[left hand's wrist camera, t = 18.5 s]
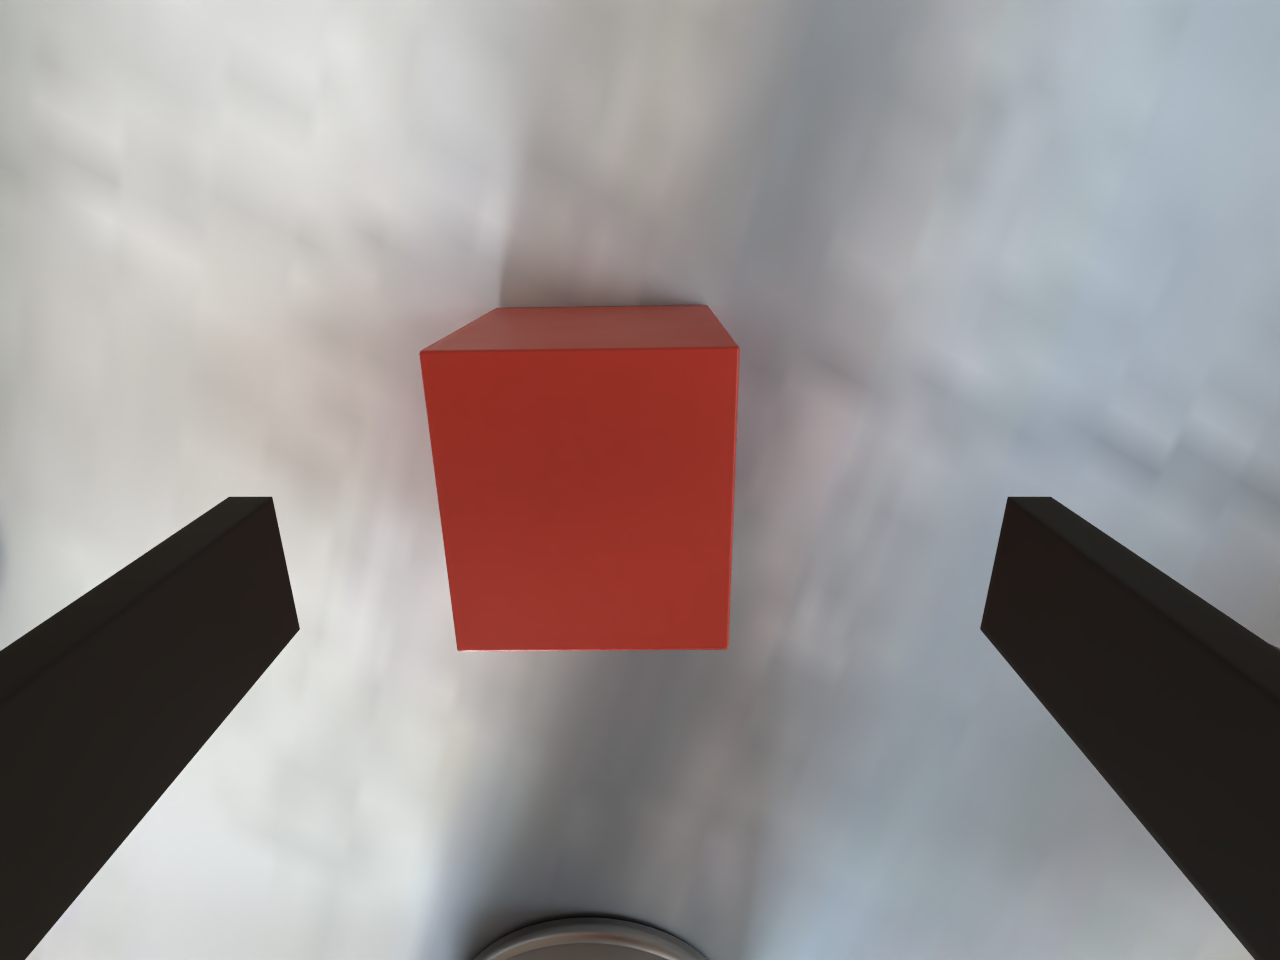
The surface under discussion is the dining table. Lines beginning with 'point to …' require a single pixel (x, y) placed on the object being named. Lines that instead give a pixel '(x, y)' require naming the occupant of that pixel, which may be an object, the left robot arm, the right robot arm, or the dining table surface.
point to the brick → (586, 476)
